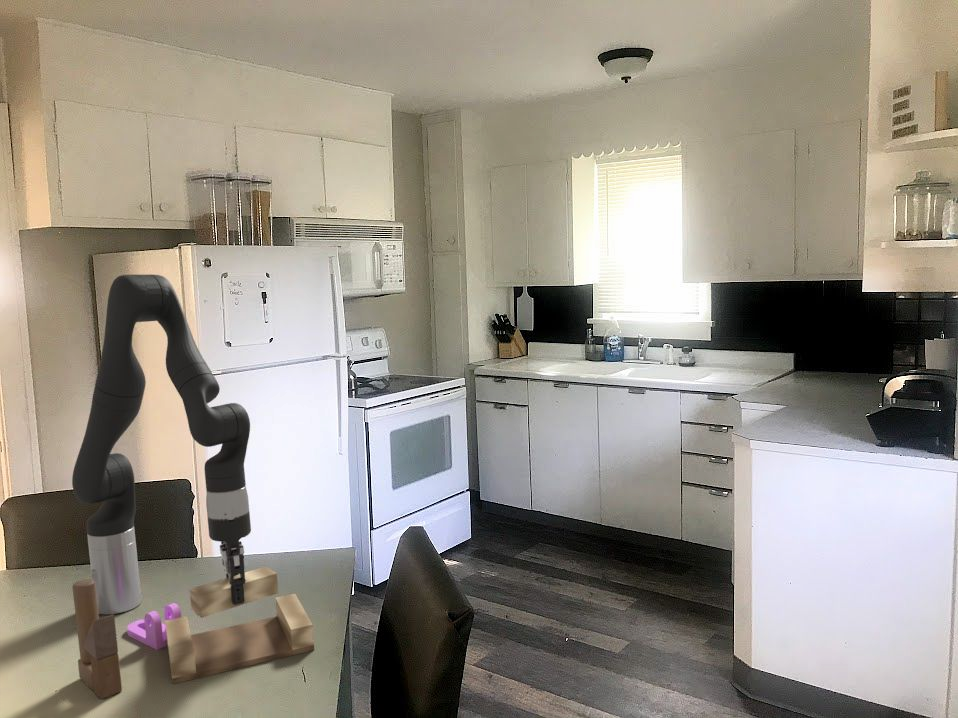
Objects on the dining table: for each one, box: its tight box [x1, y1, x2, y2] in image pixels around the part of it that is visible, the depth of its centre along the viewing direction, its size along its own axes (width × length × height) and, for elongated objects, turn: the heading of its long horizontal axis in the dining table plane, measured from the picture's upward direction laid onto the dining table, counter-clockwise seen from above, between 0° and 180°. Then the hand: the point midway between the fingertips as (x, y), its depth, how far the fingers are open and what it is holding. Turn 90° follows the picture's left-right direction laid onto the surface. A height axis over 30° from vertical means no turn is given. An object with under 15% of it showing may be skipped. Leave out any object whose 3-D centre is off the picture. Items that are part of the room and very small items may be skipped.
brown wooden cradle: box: [164, 593, 315, 685], centre depth 151 cm, size 25×16×5 cm, turn 114°
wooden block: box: [72, 578, 123, 700], centre depth 139 cm, size 4×11×18 cm, turn 45°
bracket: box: [126, 602, 182, 651], centre depth 158 cm, size 13×6×7 cm, turn 52°
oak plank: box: [189, 566, 279, 619], centre depth 150 cm, size 15×5×4 cm, turn 129°
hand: (236, 596), depth 150 cm, fingers closed on oak plank, 5 cm apart
